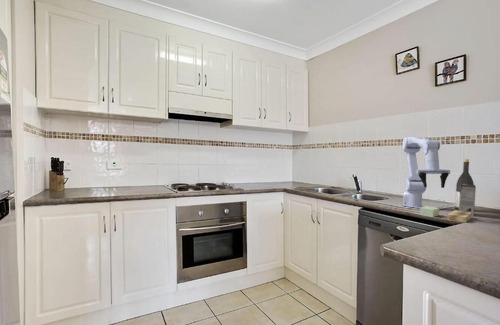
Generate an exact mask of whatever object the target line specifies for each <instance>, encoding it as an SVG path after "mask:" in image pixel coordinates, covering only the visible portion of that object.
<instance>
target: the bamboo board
mask: <svg viewBox="0 0 500 325" xmlns="http://www.w3.org/2000/svg"><path fill="white" fill-rule="evenodd" d="M472 217H473V216H472V213H470V212H463V211H459V210H457V209H454V210H453V211H451V212H449V213H447V219H446V220H447V221H448V220H449V221H454V222H455V221H456V222H462V223H467V222H469V220H471V219H472Z"/></svg>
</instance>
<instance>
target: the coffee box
mask: <svg viewBox="0 0 500 325" xmlns="http://www.w3.org/2000/svg"><path fill="white" fill-rule="evenodd" d="M476 189H477V188H476V185H475V184H474V185H470V184H460V196H459V210H458V211H463V212H470V213H472V217H475V204H476Z"/></svg>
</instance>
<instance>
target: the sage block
mask: <svg viewBox="0 0 500 325" xmlns="http://www.w3.org/2000/svg"><path fill="white" fill-rule="evenodd" d="M419 215H420V216H426V217H429V218H435V217H437V216H440V207H436V206H435V207H434V206H427V205H425V206H424V207H421V208H419Z"/></svg>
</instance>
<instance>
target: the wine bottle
mask: <svg viewBox="0 0 500 325" xmlns="http://www.w3.org/2000/svg"><path fill="white" fill-rule="evenodd" d="M469 161H470V159H468V158H466V159H465V158H464V160H463V165H462V166H463V170H462V173H461V175H459V178H458V179H457V181H456V184H455V185H456V186H455V187H456V188H455V202H454V203H455V205H454V208H455V209H454V210H456V211H459V196H460V184H470V185H475V182H474V180H473V177H472V175H471V174H470V173H469V170H470V162H469Z"/></svg>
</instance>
